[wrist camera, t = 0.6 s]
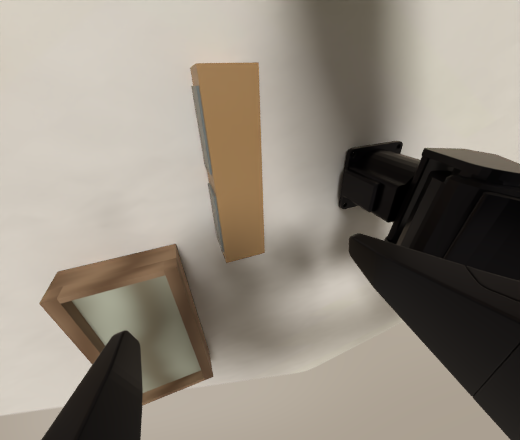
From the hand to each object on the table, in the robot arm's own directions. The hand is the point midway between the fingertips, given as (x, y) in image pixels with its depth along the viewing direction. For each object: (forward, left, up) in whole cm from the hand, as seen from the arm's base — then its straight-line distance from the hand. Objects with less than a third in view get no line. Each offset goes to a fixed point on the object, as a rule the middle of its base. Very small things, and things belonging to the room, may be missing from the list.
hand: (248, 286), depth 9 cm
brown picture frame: (+8, +14, -12) cm, 20 cm away
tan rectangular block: (-2, -1, -12) cm, 12 cm away
